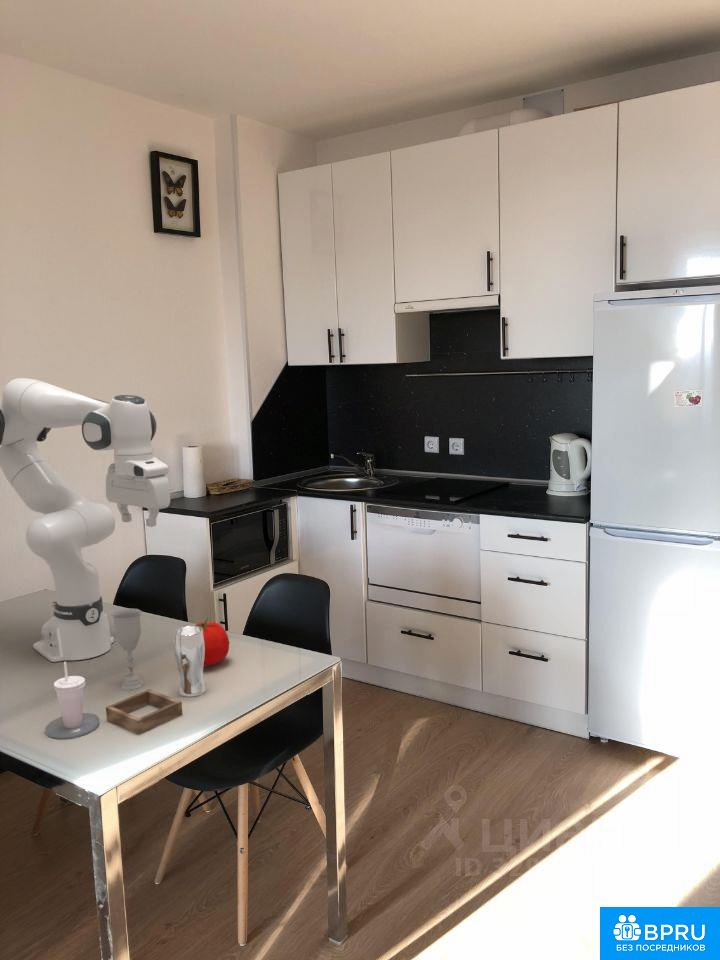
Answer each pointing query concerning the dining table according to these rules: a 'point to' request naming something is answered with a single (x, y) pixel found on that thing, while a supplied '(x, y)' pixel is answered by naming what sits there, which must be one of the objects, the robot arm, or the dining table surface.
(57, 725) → the disc
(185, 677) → the beer glass
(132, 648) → the chalice
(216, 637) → the tomato
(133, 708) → the wooden serving tray
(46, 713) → the dining table surface
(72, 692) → the smoothie
